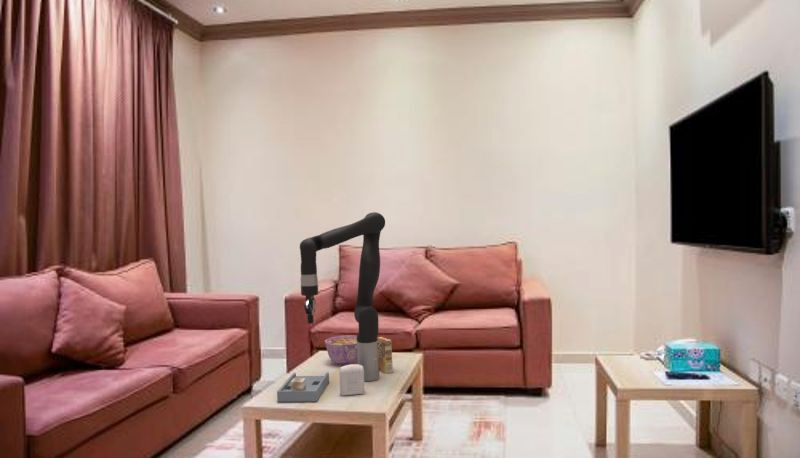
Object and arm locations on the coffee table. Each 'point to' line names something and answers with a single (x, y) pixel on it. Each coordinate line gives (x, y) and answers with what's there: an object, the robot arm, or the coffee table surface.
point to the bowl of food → (342, 349)
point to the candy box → (385, 354)
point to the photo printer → (351, 380)
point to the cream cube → (298, 384)
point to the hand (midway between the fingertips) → (310, 323)
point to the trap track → (311, 394)
